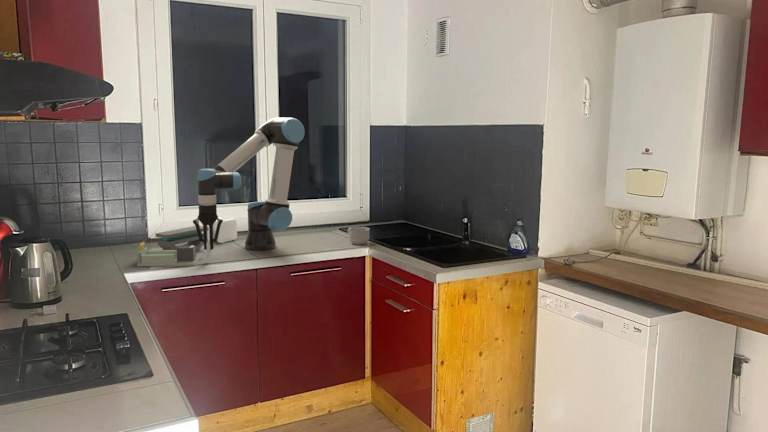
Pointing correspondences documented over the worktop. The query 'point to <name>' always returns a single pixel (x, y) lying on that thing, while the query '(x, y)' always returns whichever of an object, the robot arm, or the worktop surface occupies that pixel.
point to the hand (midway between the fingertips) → (209, 256)
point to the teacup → (358, 235)
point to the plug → (186, 253)
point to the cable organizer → (224, 230)
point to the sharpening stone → (180, 238)
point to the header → (160, 257)
